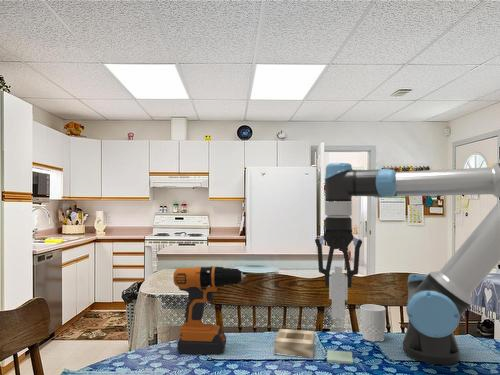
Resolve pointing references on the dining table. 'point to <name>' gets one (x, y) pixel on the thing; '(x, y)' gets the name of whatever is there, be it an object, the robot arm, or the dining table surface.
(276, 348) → the socket block
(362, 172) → the robot arm
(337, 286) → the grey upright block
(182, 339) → the power drill
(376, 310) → the white cup
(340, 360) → the mat
